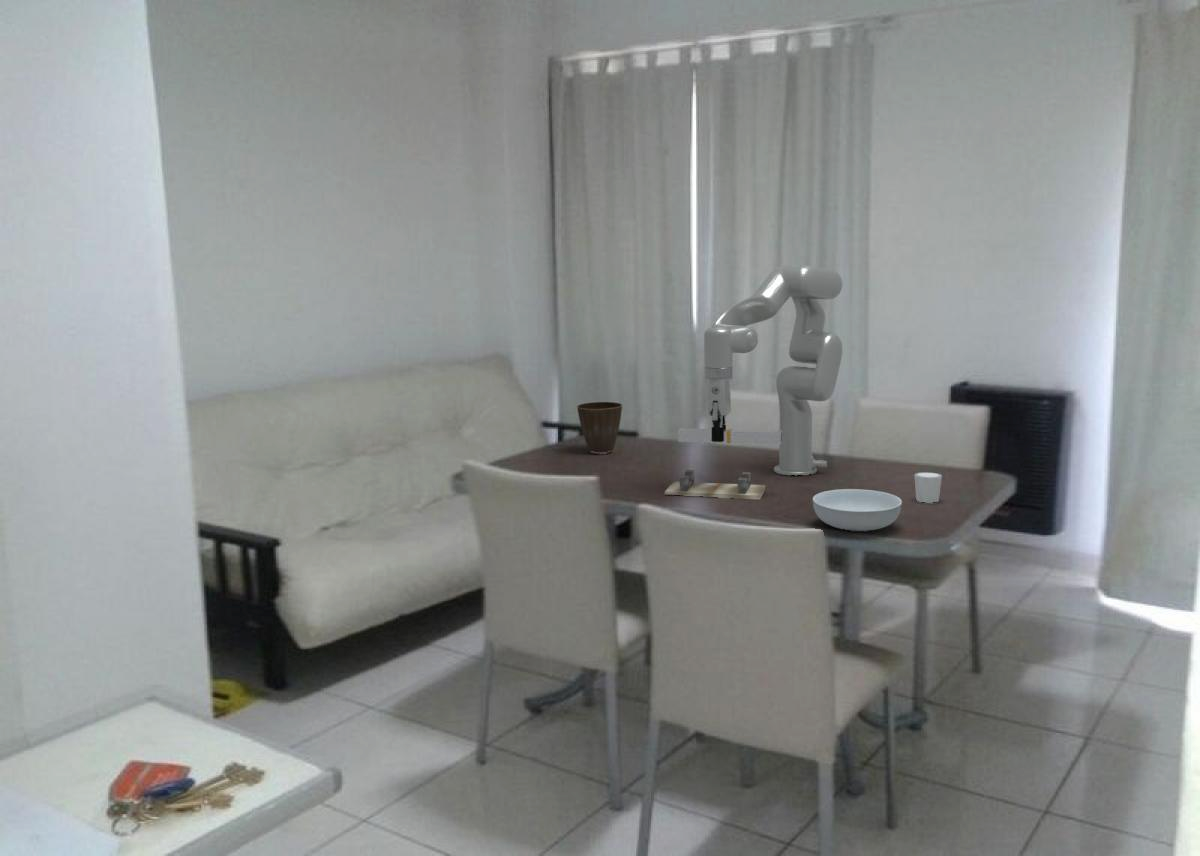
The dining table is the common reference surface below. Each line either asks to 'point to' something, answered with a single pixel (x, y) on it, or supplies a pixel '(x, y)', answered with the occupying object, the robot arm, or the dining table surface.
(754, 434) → the white banded bar
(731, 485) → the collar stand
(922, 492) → the white cup
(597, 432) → the plant pot
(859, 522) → the serving bowl
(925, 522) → the dining table surface
